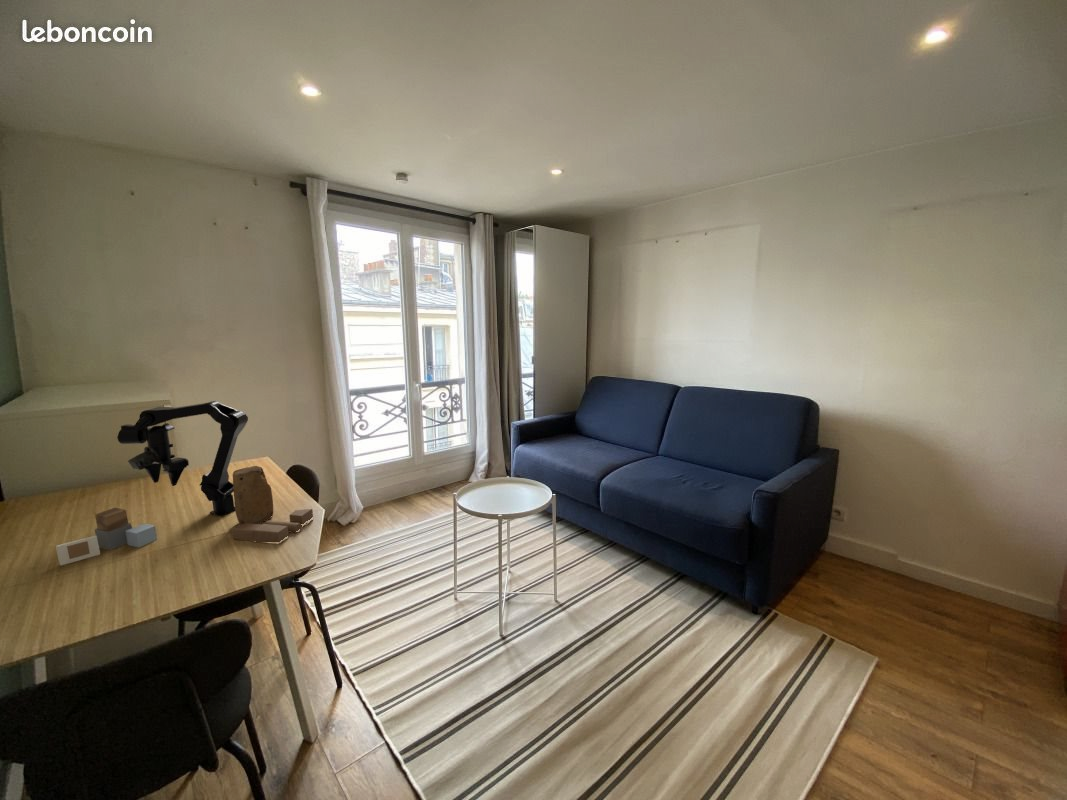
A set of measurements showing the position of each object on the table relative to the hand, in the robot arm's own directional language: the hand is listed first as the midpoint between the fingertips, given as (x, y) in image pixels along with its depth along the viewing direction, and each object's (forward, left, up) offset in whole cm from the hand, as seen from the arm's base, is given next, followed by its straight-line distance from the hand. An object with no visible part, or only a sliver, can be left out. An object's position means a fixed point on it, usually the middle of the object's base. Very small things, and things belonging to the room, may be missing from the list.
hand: (165, 483), depth 146 cm
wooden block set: (-46, -3, -13) cm, 48 cm away
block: (-34, -6, -12) cm, 37 cm away
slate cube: (-13, +16, -12) cm, 24 cm away
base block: (-6, +19, -12) cm, 23 cm away
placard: (-7, +28, -12) cm, 31 cm away
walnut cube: (-6, +19, -6) cm, 21 cm away
